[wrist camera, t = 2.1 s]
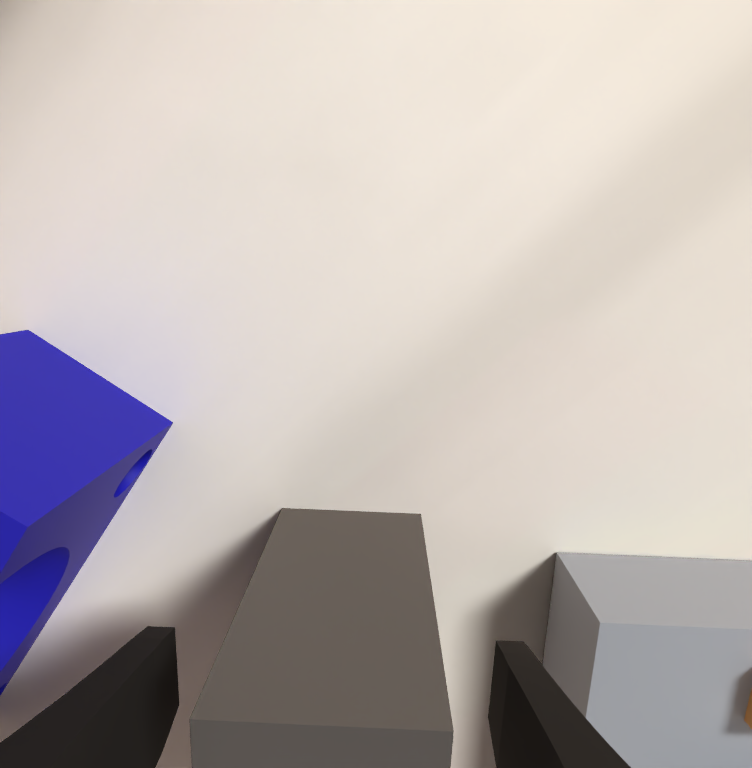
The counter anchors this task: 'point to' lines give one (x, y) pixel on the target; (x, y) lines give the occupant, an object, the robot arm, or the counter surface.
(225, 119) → the counter surface
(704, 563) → the power strip
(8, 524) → the cable clip
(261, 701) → the plug
